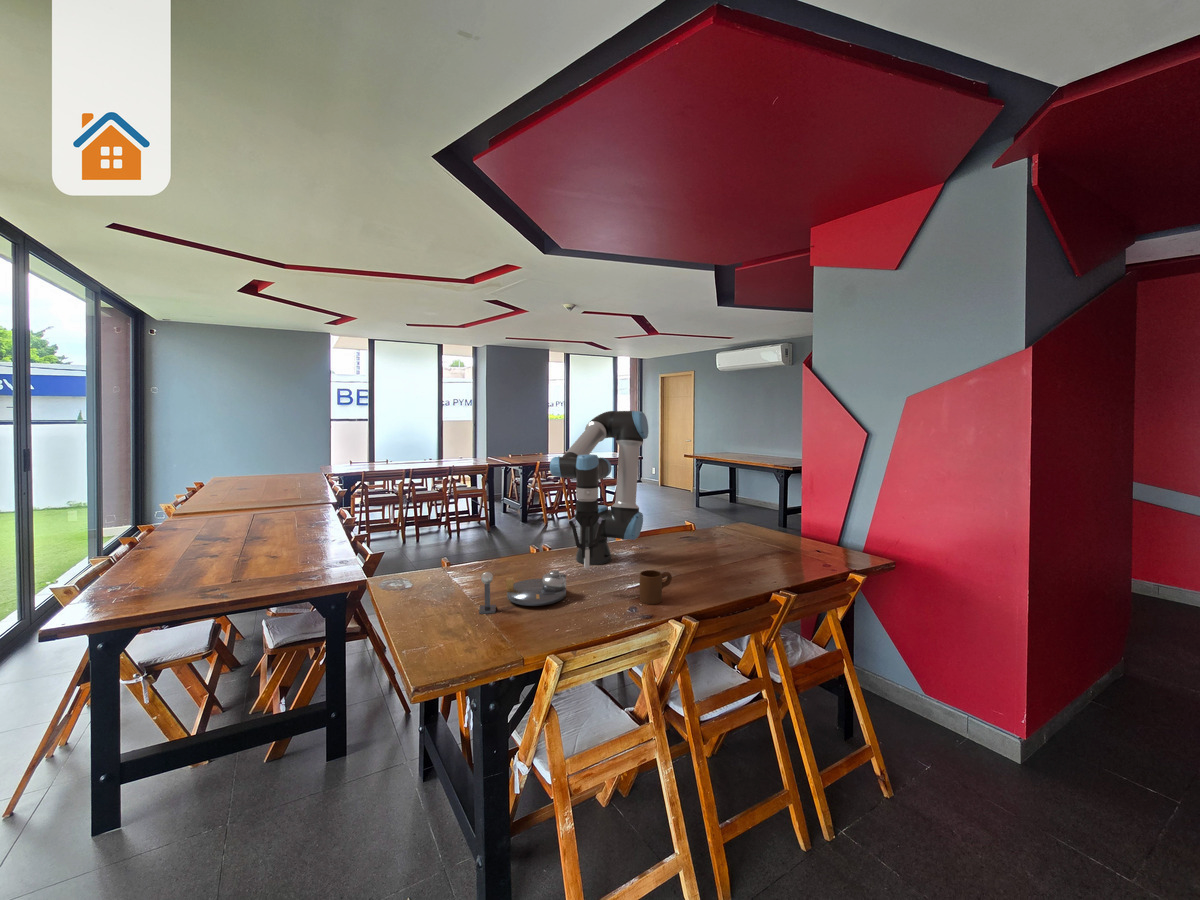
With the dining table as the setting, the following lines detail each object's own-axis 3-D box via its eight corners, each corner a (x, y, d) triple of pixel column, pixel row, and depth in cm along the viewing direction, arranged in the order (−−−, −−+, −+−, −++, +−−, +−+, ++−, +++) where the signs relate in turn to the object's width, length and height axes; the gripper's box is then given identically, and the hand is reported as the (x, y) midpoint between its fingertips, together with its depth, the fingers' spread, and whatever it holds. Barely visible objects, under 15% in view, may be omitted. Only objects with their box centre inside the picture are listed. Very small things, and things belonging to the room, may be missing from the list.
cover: (542, 584, 172) (541, 568, 172) (564, 583, 173) (564, 567, 173) (543, 592, 164) (543, 576, 164) (567, 591, 165) (567, 575, 165)
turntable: (507, 585, 176) (506, 569, 176) (563, 582, 179) (563, 566, 179) (505, 607, 156) (505, 589, 156) (568, 603, 160) (568, 585, 159)
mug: (665, 593, 173) (665, 567, 172) (677, 600, 166) (677, 573, 165) (635, 598, 168) (635, 571, 167) (646, 606, 161) (646, 578, 160)
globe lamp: (480, 607, 159) (479, 569, 158) (495, 606, 160) (495, 568, 159) (479, 614, 155) (478, 574, 154) (495, 613, 155) (494, 573, 154)
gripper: (569, 501, 163) (569, 571, 165) (607, 501, 166) (607, 569, 167) (567, 498, 171) (566, 564, 172) (603, 497, 173) (603, 563, 174)
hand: (586, 567), depth 170 cm, fingers closed
